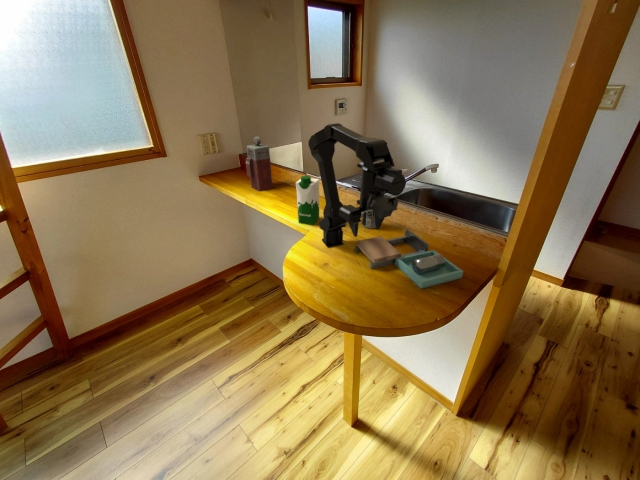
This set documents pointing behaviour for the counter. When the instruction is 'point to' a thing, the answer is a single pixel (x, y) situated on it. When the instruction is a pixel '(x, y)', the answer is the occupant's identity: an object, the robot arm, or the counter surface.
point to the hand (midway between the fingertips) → (366, 232)
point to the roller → (428, 263)
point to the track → (409, 238)
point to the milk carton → (308, 200)
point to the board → (378, 249)
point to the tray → (430, 277)
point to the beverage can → (368, 219)
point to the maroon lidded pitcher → (259, 165)
